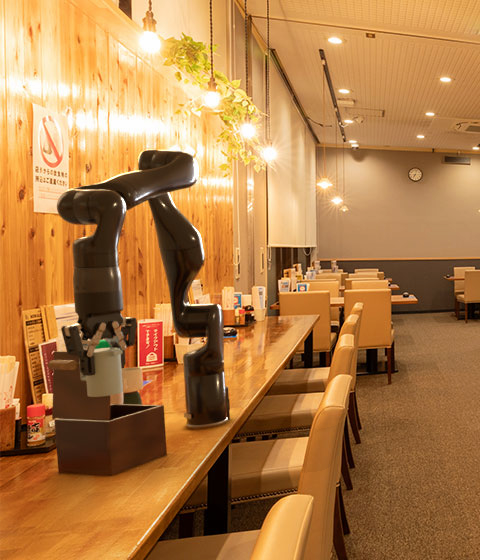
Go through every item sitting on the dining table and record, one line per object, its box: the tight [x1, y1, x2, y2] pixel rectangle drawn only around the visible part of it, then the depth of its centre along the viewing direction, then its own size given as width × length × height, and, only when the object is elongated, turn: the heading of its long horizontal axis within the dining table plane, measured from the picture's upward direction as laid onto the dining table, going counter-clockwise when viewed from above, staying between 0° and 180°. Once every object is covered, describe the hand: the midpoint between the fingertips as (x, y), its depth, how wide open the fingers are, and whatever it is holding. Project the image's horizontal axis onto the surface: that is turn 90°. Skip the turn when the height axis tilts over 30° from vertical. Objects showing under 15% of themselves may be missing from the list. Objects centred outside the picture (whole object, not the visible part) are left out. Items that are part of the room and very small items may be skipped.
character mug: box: [122, 366, 144, 405], centre depth 189 cm, size 11×7×13 cm, turn 30°
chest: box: [54, 404, 168, 476], centre depth 146 cm, size 14×14×12 cm
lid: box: [47, 350, 110, 420], centre depth 136 cm, size 14×14×5 cm
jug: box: [79, 348, 123, 397], centre depth 131 cm, size 9×6×9 cm, turn 81°
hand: (104, 371), depth 131 cm, fingers closed on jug, 5 cm apart
